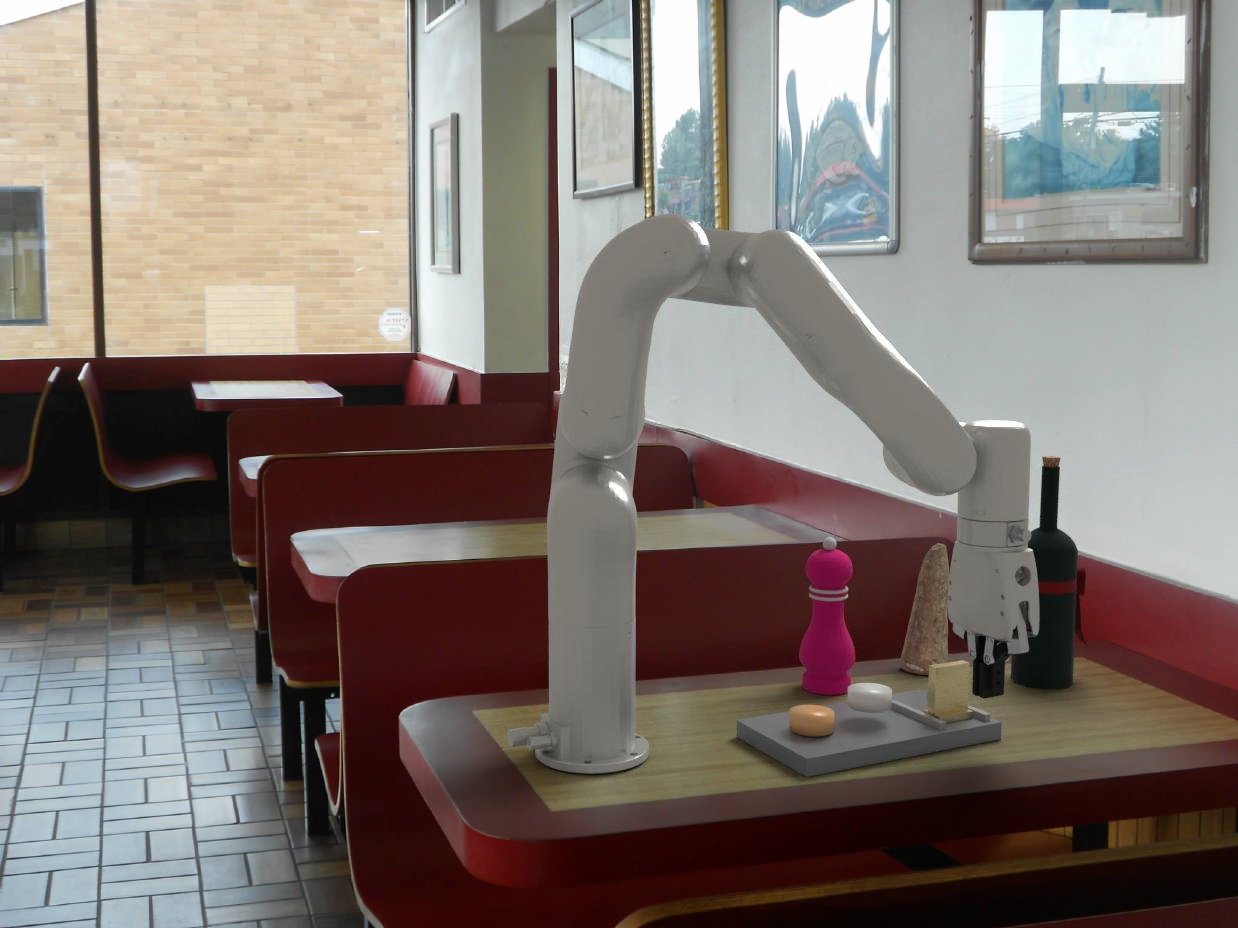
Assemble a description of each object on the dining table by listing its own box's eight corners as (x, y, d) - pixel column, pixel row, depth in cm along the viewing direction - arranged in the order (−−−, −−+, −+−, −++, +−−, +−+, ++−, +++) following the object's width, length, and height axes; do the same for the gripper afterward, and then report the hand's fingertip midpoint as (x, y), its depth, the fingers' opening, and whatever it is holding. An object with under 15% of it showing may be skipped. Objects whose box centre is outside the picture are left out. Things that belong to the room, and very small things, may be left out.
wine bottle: (1100, 685, 166) (1111, 459, 162) (1031, 691, 164) (1041, 461, 160) (1065, 669, 174) (1075, 452, 170) (999, 674, 171) (1008, 454, 168)
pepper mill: (852, 680, 168) (855, 532, 165) (856, 697, 161) (860, 543, 158) (797, 679, 169) (800, 531, 166) (799, 695, 162) (802, 541, 159)
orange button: (805, 738, 138) (806, 721, 138) (780, 725, 143) (780, 708, 143) (843, 731, 141) (843, 714, 140) (816, 719, 145) (817, 702, 145)
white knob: (865, 715, 142) (865, 697, 142) (838, 702, 146) (838, 686, 146) (900, 709, 144) (901, 692, 144) (873, 697, 148) (873, 680, 148)
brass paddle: (939, 724, 144) (941, 670, 143) (922, 716, 147) (923, 663, 146) (973, 717, 146) (975, 664, 146) (955, 710, 149) (957, 658, 148)
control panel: (806, 776, 133) (807, 751, 133) (736, 736, 146) (736, 713, 146) (1001, 738, 145) (1001, 715, 145) (921, 704, 158) (921, 683, 157)
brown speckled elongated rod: (948, 682, 170) (942, 671, 176) (973, 552, 168) (966, 545, 174) (901, 674, 170) (896, 662, 176) (925, 544, 169) (920, 537, 175)
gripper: (1069, 540, 134) (1063, 708, 136) (971, 520, 147) (967, 673, 149) (1015, 547, 130) (1010, 719, 133) (920, 525, 144) (917, 682, 146)
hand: (988, 694), depth 141 cm, fingers closed
